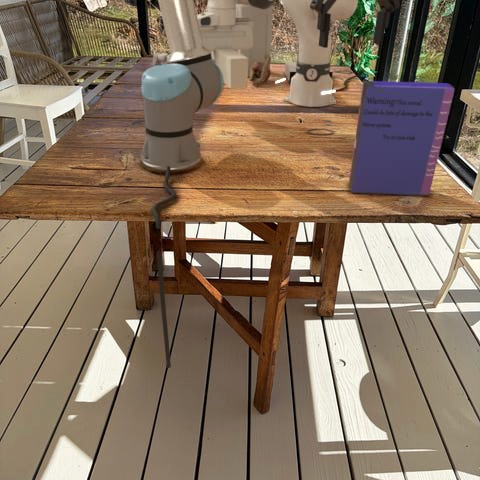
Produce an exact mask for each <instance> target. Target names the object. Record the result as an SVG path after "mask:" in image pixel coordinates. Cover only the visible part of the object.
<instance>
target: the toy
mask: <svg viewBox="0 0 480 480" xmlns="http://www.w3.org/2000/svg"><path fill="white" fill-rule="evenodd" d="M169 56H170V53H167V52H162V53H161V52H158V51H157V52H155V53H154V54H153V56H152V67H154V66H157V65H162V63H165V62H166V63H167V59H168V57H169Z"/></svg>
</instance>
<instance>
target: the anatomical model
mask: <svg viewBox="0 0 480 480" xmlns="http://www.w3.org/2000/svg"><path fill="white" fill-rule="evenodd" d="M265 59H267V60H266V62H265V63H263V62H258V61H256V62H254V64H253V65H252V66H251V67H250V69H249V75H250V77H249V81H250V82H252V86H253V87H259V85H261V84H262V83H264V82H266V81H267V82H268V80H269V79H270V77H271V68H270V69H269V64H270V65H271V62H272V57H270V56H269V55H265Z"/></svg>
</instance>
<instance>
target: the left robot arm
mask: <svg viewBox="0 0 480 480" xmlns="http://www.w3.org/2000/svg"><path fill="white" fill-rule="evenodd" d="M375 1H376V2H377V4H378V6H379V9H380V11H378V10H377V12H376V19H375V26H374V31H373V40H372V44H374V45H378V46H383V43H384V37H385V33H386V32H385V31H386V29H387V28H388V27H389V23H390V16H391V13H394V11H395V10H397V9H400V6H401V3H400V0H375ZM157 2H158V6H159V10H160V11H159V12H160V14H161V19H162V23H163V27H164V32H165V36H166V40H167V43H168V48H169V55H170V56H169V57H168V59H167V62H166V63H163V64H159V65H157V66H154V67H153V66H151V67H149V68H147V69H146V70H144V72H143V73H142V75H141V87H140V88H141V89H140V93H141V95H142V105H143V115H144V125H145V138H144V142H143V146H142V150H141V154H140V162H141V166H142V168H144V169H145V170H146V171H149V172H151V173H156V174H163V175H164V174H165V176H164V180H163V187H164V189H165V191H167V192H168V193H169V194H171V196H169V197H167V198H165V199H162V200H160V201H158V202H157V203H155V204H154V205H153V206H152V208H151V213H152V215H153V217H154V220H155V227H156V230H161V228H162V221H161V217H160V214H159V213H158V209H159V208H160V207H162V206H164V205H165V206H166V205H167V204H169V203H171V202H173V201H174V200H175V199H176V198H177V192H176V191H175V190H174V189H173V188H171V187H170V186H169V179H170V175H172V174H173V175H175V174H182V173H187V172H190V171H193V170H195V169H197V168H198V167H199V166H201V163H202V154H201V151H200V149H201V144H200V143H198V142H197V141H196V137H195V135H194V130H193V129H194V126H193V115H194V114H196V113H197V112H199V111H201V110H203V109H206V108H208V107H210V106H211V105H213V104H214V103H215V102H216V101H217V100H218V99H219V98H220V96H221V95H222V92H223V90H224V85H225V84H224V79H223V74H222V72H221V70H220V68H219V67H218V66H217V65H216V64H215V63H214V62H213V61H212V54H211V52H210V51H209V50H208V49H206V48H205V47H204V46H203V42H202V37H201V33H200V28H199V23H198V18H197V15H198V14H197V9H196V4H195V0H157ZM335 2H336V0H312V2H311V4H310V8H311V9H313V10H315V11H317V12H318V20H317V29H318V30H320V36H319V46H321V47H324V48H328V38H329V36H330V26H331V20H330V18H331V14H328V13H327V12H328V11H329V9H330V8H331V7H332V6H333V4H334V3H335ZM156 261H157V275H158V287H159V288H158V289H159V299H160V300H159V302H160V310H161V322H162V331H163V332H162V333H163V341H164V353H165V363H166V364H165V366H166V368H167V369H170V368H171V367H172V364H171V362H172V361H171V353H170V351H171V350H170V341H169V329H168V319H167V307H166V306H167V305H166V293H165V283H164V282H165V281H164V266H163V251H162V250H161V251H160V250H156Z"/></svg>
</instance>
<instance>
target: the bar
mask: <svg viewBox="0 0 480 480" xmlns="http://www.w3.org/2000/svg"><path fill="white" fill-rule="evenodd" d="M211 57H212V59H214V60H215V64H216V65H217V66H218V67H219V68H220V70H221V72H222V74H223V79H224V85H225V86H227V87H228V88H229V89H231V90H234V89H248V78H249V77H248V58H247V57H245V56H243V55H242V54H240V53H238V52H237V51H235V50H233V49H232V48H223V49H216V50H215V51H212V54H211Z"/></svg>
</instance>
